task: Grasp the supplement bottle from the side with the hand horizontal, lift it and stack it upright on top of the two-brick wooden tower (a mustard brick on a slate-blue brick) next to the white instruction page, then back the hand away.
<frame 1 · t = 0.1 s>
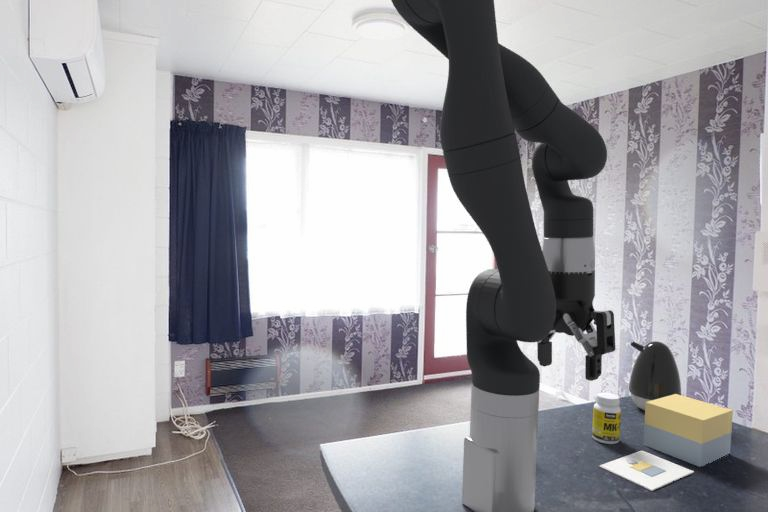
hand: (568, 372, 79), 17 cm above the table, tool pointing down, fingers open, 8 cm apart
brick tower: (685, 449, 93), on the table
instruction page: (646, 469, 85), on the table
pump dispenser: (652, 410, 114), on the table
supplement bottle: (605, 440, 97), on the table
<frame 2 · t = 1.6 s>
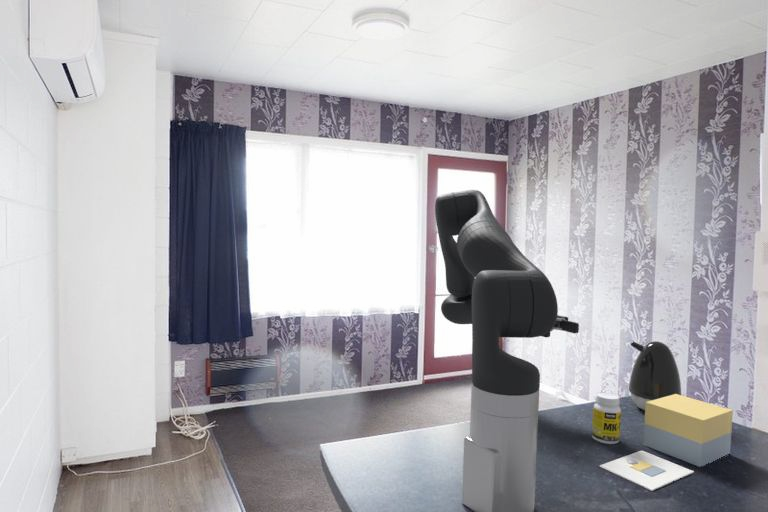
hand: (563, 330, 105), 19 cm above the table, tool horizontal, fingers open, 8 cm apart
nothing on the table moved.
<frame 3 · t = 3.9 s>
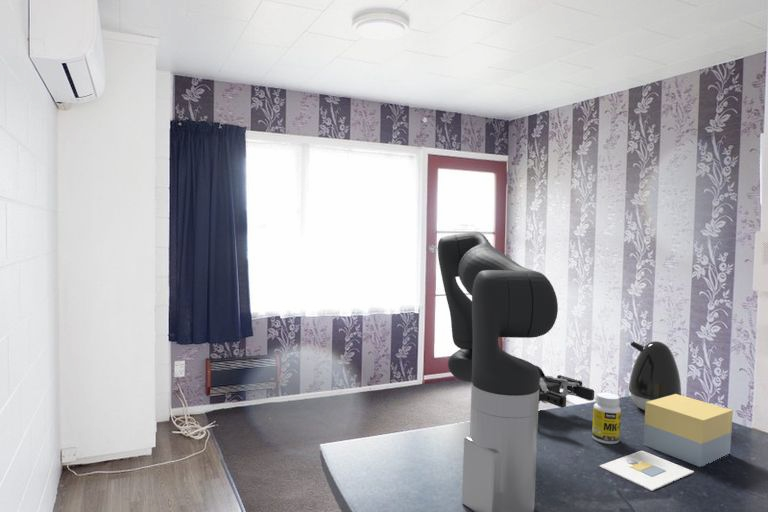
hand: (579, 398, 101), 6 cm above the table, tool horizontal, fingers open, 8 cm apart
nothing on the table moved.
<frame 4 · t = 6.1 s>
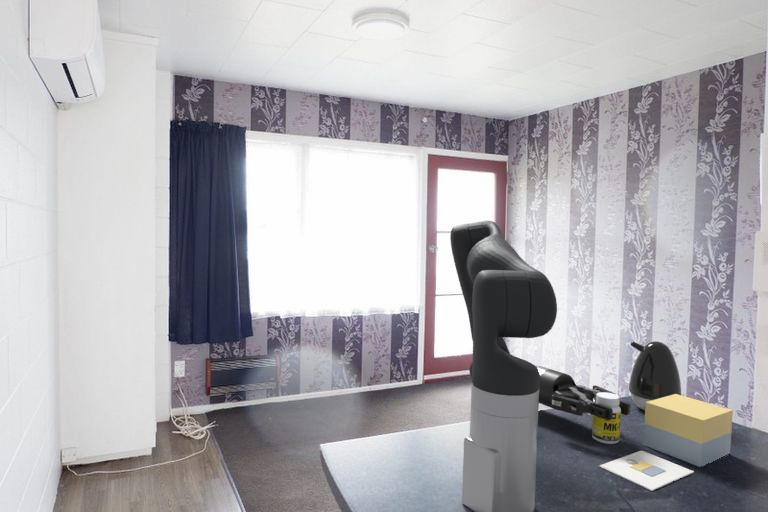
hand: (620, 412, 94), 6 cm above the table, tool horizontal, fingers closed on supplement bottle, 4 cm apart
supplement bottle: (605, 440, 97), on the table, touching gripper
everything else where it was.
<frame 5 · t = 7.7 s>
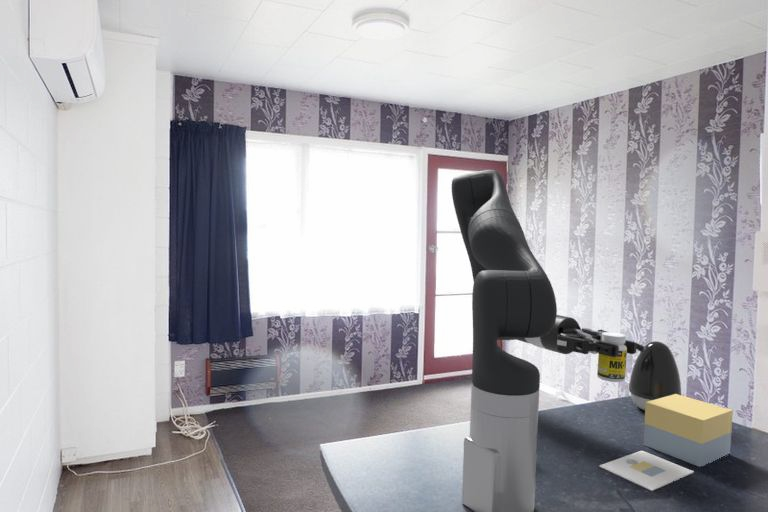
hand: (626, 349, 93), 18 cm above the table, tool horizontal, fingers closed on supplement bottle, 4 cm apart
supplement bottle: (610, 379, 96), point 11 cm above the table, touching gripper
everything else where it was.
when the fingers open (15 cm above the table, at t = 9.4 s): supplement bottle drops 1 cm, resting on brick tower.
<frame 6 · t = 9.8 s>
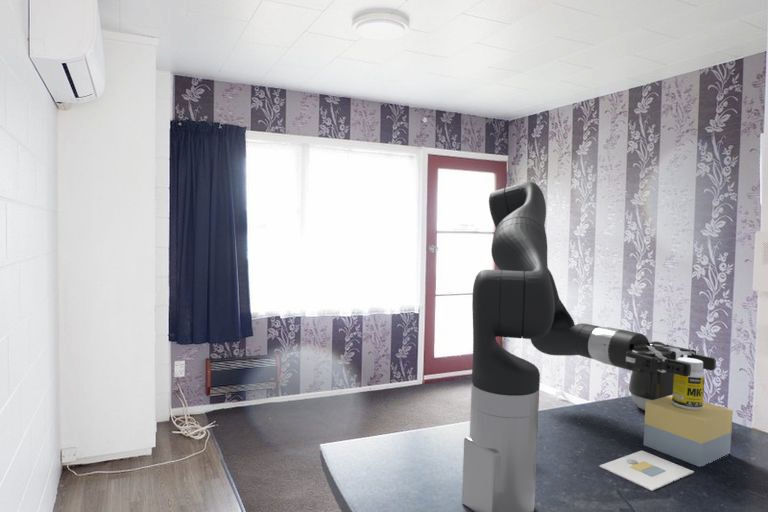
hand: (702, 367, 91), 16 cm above the table, tool horizontal, fingers open, 8 cm apart
supplement bottle: (687, 407, 93), point 8 cm above the table, touching brick tower
everything else where it was.
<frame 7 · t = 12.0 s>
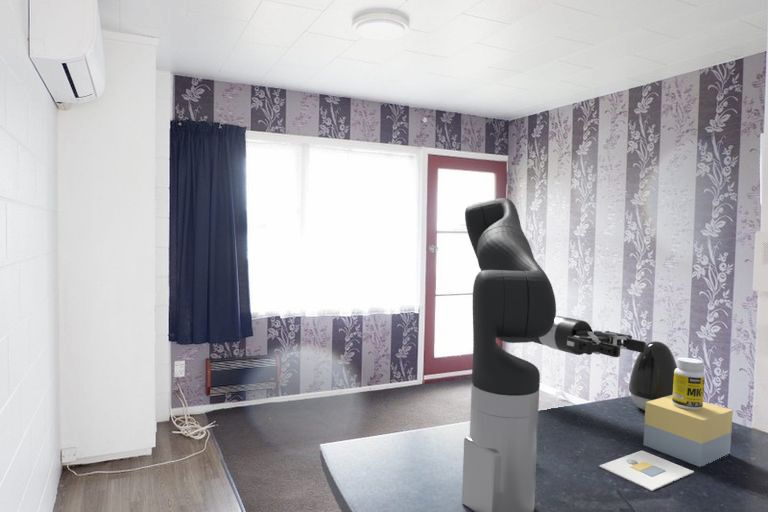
hand: (632, 349, 101), 16 cm above the table, tool horizontal, fingers open, 8 cm apart
nothing on the table moved.
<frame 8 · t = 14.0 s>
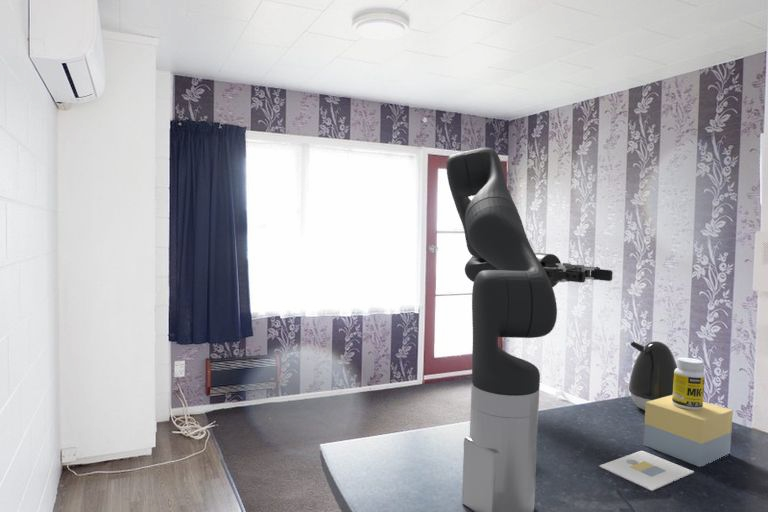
hand: (598, 276, 102), 30 cm above the table, tool horizontal, fingers open, 8 cm apart
nothing on the table moved.
at the end: supplement bottle inside the target area on the brick tower (0.2 cm from its centre), point 7.8 cm above the brick tower's base; supplement bottle tilted 0°; the gripper is holding nothing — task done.
